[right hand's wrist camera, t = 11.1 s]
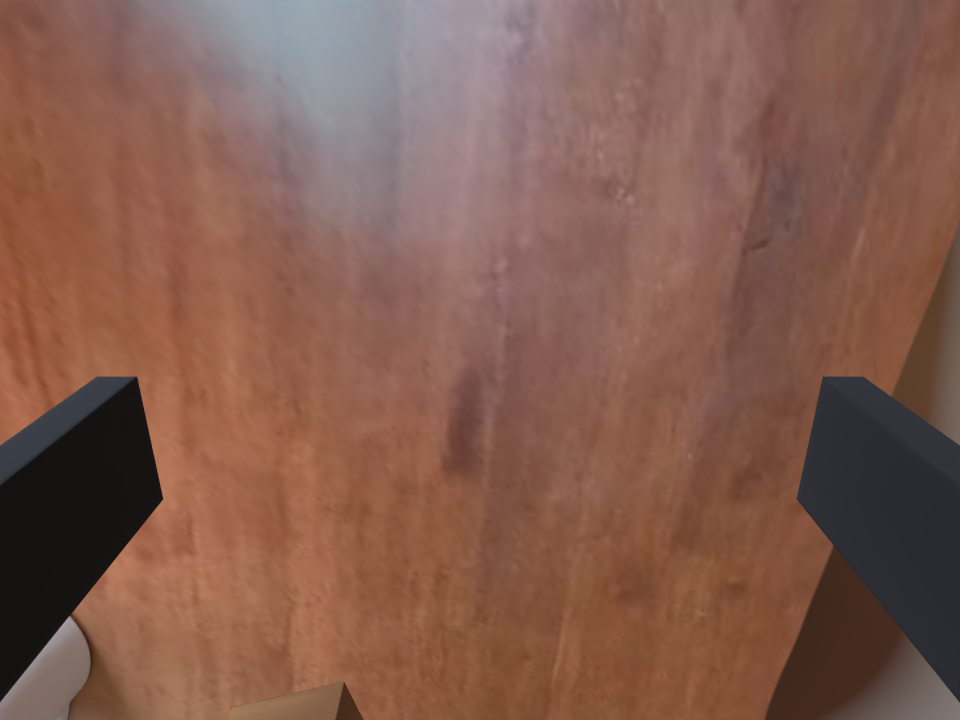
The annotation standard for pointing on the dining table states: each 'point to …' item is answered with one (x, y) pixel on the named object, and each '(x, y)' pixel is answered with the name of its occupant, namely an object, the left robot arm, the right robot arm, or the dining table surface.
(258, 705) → the box
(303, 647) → the dining table surface
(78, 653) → the left robot arm
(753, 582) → the dining table surface
